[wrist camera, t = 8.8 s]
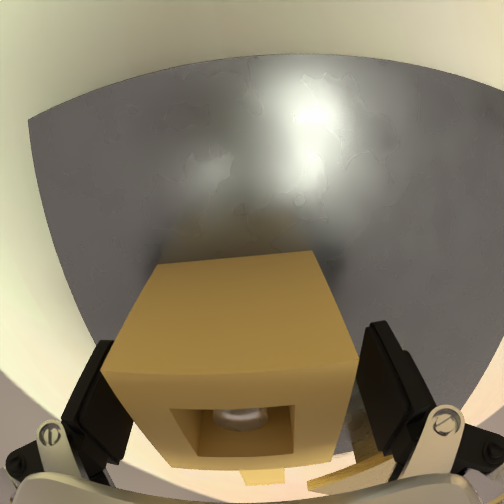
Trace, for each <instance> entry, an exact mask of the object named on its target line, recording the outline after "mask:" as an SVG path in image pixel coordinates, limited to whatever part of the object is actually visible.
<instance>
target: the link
mask: <svg viewBox="0 0 504 504" xmlns="http://www.w3.org/2000/svg"><path fill="white" fill-rule="evenodd" d="M358 363H359V357H358V354H357V352H356V349H355V347H354V344H353V342H352V339H351V337H350V335H349V332H348V330H347V327H346V325H345V323H344V320H343V318H342V316H341V313H340V311H339V309H338V306H337V304H336V302H335V299H334V297H333V295H332V293H331V290H330V288H329V286H328V284H327V281H326V279H325V277H324V275H323V273H322V270H321V268H320V266H319V264H318V262H317V260H316V257H315V255H314V253H313V251H312V250H311V251H300V252H289V253H278V254H268V255H257V256H246V257H235V258H224V259H213V260H202V261H191V262H179V263H168V264H157V266H156V267H155V269H154V271H153V273H152V274H151V276H150V278H149V279H148V281H147V283H146V285H145V286H144V288H143V290H142V292H141V293H140V295H139V297H138V299H137V300H136V302H135V304H134V306H133V308H132V309H131V311H130V313H129V315H128V317H127V319H126V320H125V322H124V324H123V326H122V328H121V330H120V332H119V334H118V336H117V337H116V339H115V341H114V343H113V345H112V347H111V349H110V351H109V353H108V355H107V357H106V359H105V361H104V363H103V365H102V367H101V369H100V371H101V373H102V374H103V376H104V378H105V379H106V381H107V382H108V384H109V386H110V387H111V389H112V390H113V392H114V393H115V395H116V396H117V398H118V399H119V401H120V402H121V404H122V405H123V407H124V408H125V409H126V411H127V412H128V414H129V415H130V416H131V418H132V419H133V421H134V422H135V423H136V425H137V426H138V427H139V429H140V430H141V431H142V432H143V434H144V435H145V436H146V438H147V439H148V440H149V441H150V443H151V444H152V445H153V446H154V447H155V449H156V450H157V451H158V452H159V453H160V455H161V456H162V457H163V458H164V459H165V460H166V461H167V463H168V464H169V465H170V466H171V467H174V468H184V469H198V470H239V471H240V474H241V476H242V478H243V480H244V482H245V485H269V484H282V483H285V476H284V468H289V467H298V466H306V465H313V464H320V463H326V462H331V459H332V456H333V453H334V450H335V447H336V444H337V441H338V438H339V435H340V432H341V428H342V425H343V422H344V418H345V415H346V411H347V408H348V404H349V400H350V397H351V393H352V389H353V385H354V381H355V376H356V372H357V368H358ZM264 407H267V415H268V420H267V422H266V424H265V425H264V426H262V427H260V428H258V429H255V430H252V431H243V432H239V431H231V430H227V429H224V428H222V427H220V426H218V425H217V424H216V423H215V422H214V421H213V418H212V416H213V409H248V408H264Z"/></svg>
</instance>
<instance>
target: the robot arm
mask: <svg viewBox="0 0 504 504" xmlns="http://www.w3.org/2000/svg"><path fill="white" fill-rule="evenodd" d="M113 343H114V340H100V341H99V342H98V344H97V346H96V347H95V349H94V351H93V353H92V355H91V357H90V359H89V361H88V363H87V364H86V366H85V368H84V370H83V372H82V374H81V376H80V378H79V380H78V382H77V384H76V386H75V388H74V390H73V392H72V395H71V397H70V399H69V401H68V403H67V405H66V407H65V410H64V412H63V414H62V416H61V419H62V421H61V423H60V422H59V421H57V420H48V421H45V422H44V423H42V424H41V425H40V427H39V428H38V430H37V434H36V440H35V441H33V442H31V443H29V444H27V445H25V446H23V447H21V448H19V449H17V450H15V451H13V452H11V453H10V454H9V455H8V457H7V459H6V468H4V467H2V468H1V469H0V504H481V502H480V500H479V498H478V496H479V497H480V498H481V499H482V500H483V504H504V437H503V436H501V435H499V434H496V433H493V432H490V431H486V430H483V429H480V428H477V427H475V426H472V425H469V424H466V423H465V420H464V416H463V414H462V413H461V411H460V410H459V409H458V408H456V407H454V406H452V405H440V406H438V407H437V405H436V403H435V401H434V399H433V397H432V395H431V393H430V391H429V389H428V387H427V385H426V383H425V381H424V379H423V377H422V375H421V373H420V371H419V369H418V368H417V366H416V364H415V362H414V360H413V358H412V356H411V355H410V353H409V352H408V351H407V350H402V348H401V346H400V344H399V342H398V340H397V339H396V337H395V335H394V333H393V331H392V330H391V328H390V326H389V324H388V323H387V321H386V320H382V321H377V322H371V323H370V325H369V327H366V328H365V332H364V337H363V342H362V347H361V352H360V357H359V363H358V368H357V372H356V382H357V385H358V388H359V391H360V394H361V397H362V400H363V403H364V407H365V410H366V413H367V416H368V419H369V423H370V426H371V429H372V433H373V436H374V439H375V443H376V446H377V449H378V451H379V452H381V451H382V452H383V455H384V457H386V456H389V455H392V454H393V458H394V461H395V462H396V463H395V465H394V467H393V469H392V471H391V473H390V475H389V476H388V478H387V480H386V482H385V483H383V484H379V485H375V486H372V487H368V488H363V489H359V490H355V491H350V492H345V493H340V494H334V495H329V496H323V497H317V498H310V499H302V500H293V501H282V502H267V503H212V502H199V501H188V500H179V499H171V498H163V497H158V496H152V495H146V494H141V493H136V492H132V491H127V490H123V489H119V488H116V487H115V485H114V483H113V481H112V479H111V478H110V475H109V473H108V471H107V470H106V464H107V463H110V464H115V465H119V462H120V460H122V459H123V457H124V454H125V450H126V447H127V443H128V439H129V436H130V432H131V429H132V425H133V422H134V421H133V419H132V418H131V416H130V415H129V414H128V412H127V411H126V409H125V408H124V407H123V405H122V404H121V402H120V401H119V399H118V398H117V396H116V395H115V393H114V392H113V390H112V389H111V387H110V386H109V384H108V382H107V381H106V379H105V378H104V376H103V374H102V373H101V371H100V369H101V367H102V365H103V363H104V361H105V359H106V357H107V355H108V353H109V351H110V349H111V347H112V345H113ZM475 490H476V491H477V492H476V491H475Z"/></svg>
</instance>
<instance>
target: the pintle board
mask: <svg viewBox="0 0 504 504" xmlns="http://www.w3.org/2000/svg"><path fill="white" fill-rule="evenodd" d="M28 125H29V134H30V142H31V149H32V156H33V162H34V167H35V173H36V178H37V183H38V187H39V192H40V196H41V200H42V204H43V208H44V212H45V216H46V220H47V223H48V227H49V230H50V233H51V237H52V240H53V243H54V246H55V249H56V252H57V255H58V258H59V261H60V264H61V267H62V269H63V272H64V275H65V277H66V280H67V282H68V285H69V287H70V290H71V292H72V295H73V297H74V300H75V302H76V304H77V306H78V309H79V311H80V313H81V315H82V318H83V320H84V322H85V324H86V326H87V328H88V330H89V332H90V334H91V336H92V338H93V340H94V342H95V344H96V346H97V344H98V342H99V341H100V340H114V341H115V339H116V337H117V336H118V334H119V332H120V330H121V328H122V326H123V324H124V322H125V320H126V319H127V317H128V315H129V313H130V311H131V309H132V308H133V306H134V304H135V302H136V300H137V299H138V297H139V295H140V293H141V292H142V290H143V288H144V286H145V285H146V283H147V281H148V279H149V278H150V276H151V274H152V273H153V271H154V269H155V267H156V266H157V264H168V263H179V262H191V261H202V260H213V259H224V258H235V257H246V256H257V255H268V254H278V253H289V252H300V251H311V250H312V251H313V253H314V255H315V257H316V260H317V262H318V264H319V266H320V268H321V270H322V273H323V275H324V277H325V279H326V281H327V284H328V286H329V288H330V290H331V293H332V295H333V297H334V299H335V302H336V304H337V306H338V309H339V311H340V313H341V316H342V318H343V320H344V323H345V325H346V327H347V330H348V332H349V335H350V337H351V339H352V342H353V344H354V347H355V349H356V352H357V354H358V357H360V352H361V347H362V342H363V337H364V332H365V328H366V327H369V325H370V323H371V322H377V321H382V320H386V321H387V323H388V324H389V326H390V328H391V330H392V331H393V333H394V335H395V337H396V339H397V340H398V342H399V344H400V346H401V348H402V350H407V351H408V352H409V353H410V355H411V356H412V358H413V360H414V362H415V364H416V366H417V368H418V369H419V371H420V373H421V375H422V377H423V379H424V381H425V383H426V385H427V387H428V389H429V391H430V393H431V395H432V397H433V399H434V401H435V403H436V405H437V407H438V406H440V405H452V406H454V407H456V408H458V409H459V410H461V409H462V407H463V406H464V404H465V403H466V401H467V400H468V398H469V397H470V395H471V394H472V392H473V391H474V389H475V387H476V386H477V384H478V382H479V381H480V379H481V377H482V376H483V374H484V372H485V371H486V369H487V367H488V365H489V363H490V362H491V360H492V358H493V356H494V354H495V352H496V350H497V348H498V346H499V344H500V342H501V340H502V338H503V336H504V91H501V90H499V89H496V88H494V87H491V86H488V85H486V84H483V83H480V82H477V81H474V80H471V79H468V78H465V77H461V76H458V75H454V74H451V73H447V72H443V71H440V70H436V69H431V68H427V67H422V66H418V65H413V64H408V63H402V62H396V61H390V60H383V59H376V58H367V57H357V56H345V55H328V54H276V55H258V56H246V57H236V58H228V59H220V60H213V61H206V62H200V63H194V64H189V65H184V66H179V67H174V68H169V69H165V70H161V71H157V72H153V73H149V74H145V75H141V76H138V77H134V78H131V79H127V80H124V81H121V82H118V83H114V84H111V85H108V86H105V87H103V88H100V89H97V90H94V91H91V92H89V93H86V94H84V95H81V96H79V97H76V98H74V99H71V100H69V101H66V102H64V103H62V104H60V105H57V106H55V107H53V108H51V109H49V110H47V111H44V112H42V113H40V114H38V115H36V116H34V117H32V118H31V119H29V120H28ZM212 418H213V421H214V422H215V423H216V424H217V425H218V426H220V427H222V428H224V429H227V430H231V431H239V432H243V431H252V430H255V429H258V428H260V427H262V426H264V425H265V424H266V422H267V420H268V415H267V407H264V408H248V409H213V416H212ZM350 451H354V455H355V460H356V464H354V465H352V466H349V467H347V468H344V469H342V470H339V471H336V472H333V473H331V474H328V475H325V476H322V477H319V478H316V479H313V480H310V481H307V486H308V491H313V492H317V493H322V494H327V495H334V494H340V493H345V492H350V491H355V490H359V489H363V488H368V487H372V486H375V485H379V484H383V483H385V482H386V480H387V478H388V476H389V475H390V473H391V471H392V469H393V467H394V465H395V463H396V462H395V461H394V458H393V454H392V455H389V456H386V457H384V455H383V452H382V451H381V452H379V451H378V449H377V446H376V443H375V439H374V436H373V433H372V429H371V426H370V423H369V419H368V416H367V413H366V410H365V407H364V403H363V400H362V397H361V394H360V391H359V388H358V385H357V382H356V376H355V381H354V385H353V389H352V393H351V397H350V400H349V404H348V408H347V411H346V415H345V418H344V422H343V425H342V428H341V432H340V435H339V438H338V441H337V444H336V447H335V450H334V453H333V455H335V454H340V453H345V452H350Z"/></svg>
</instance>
